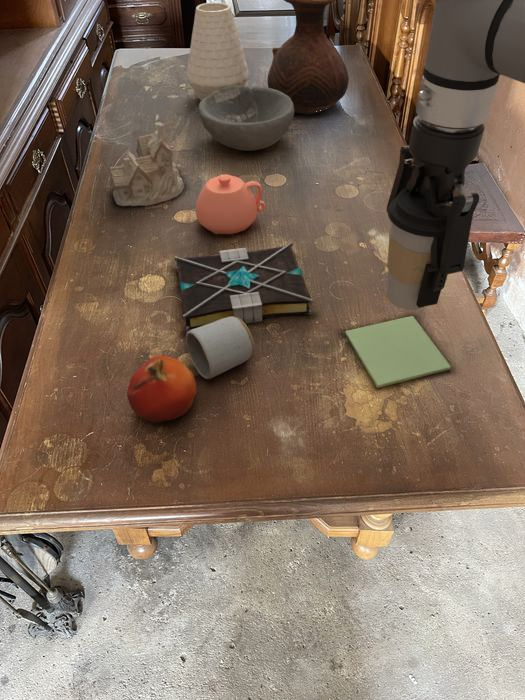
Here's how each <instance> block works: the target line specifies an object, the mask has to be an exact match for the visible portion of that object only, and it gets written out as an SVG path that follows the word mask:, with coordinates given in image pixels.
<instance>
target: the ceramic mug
mask: <svg viewBox="0 0 525 700" xmlns="http://www.w3.org/2000/svg"><path fill="white" fill-rule="evenodd" d="M185 344H186V348H187V352H188V354H189V355H188V356H189V357H190V360H191V362H192V364H193V366H194V368H195V369H196V370H197V372H198V374H199V375H200V376H201V377H202V378H203V379H205V380H210V379H213V378H214V377H217V376H219V375H221V374H223V373H226V372H227V371H229V370H232V369H233V368H235V367H237V366H239V365H242V364H243V363H245V362H247V361H248V360H249V359H251V358H252V356H253V355H254V352H255V343H254V339H253V335H252V333H251V331H250V329H249V327H248V325H247V323H244V322H243V321H242V320H241V319H240V318H238V317H234V316H233V317H227V318H223V319H220V320H218V321H215V322H213V323H210V324H207V325H204V326H201V327H198V328H195V329H192V330H190V331H188V332H186V334H185Z"/></svg>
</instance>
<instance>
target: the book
mask: <svg viewBox="0 0 525 700" xmlns="http://www.w3.org/2000/svg"><path fill="white" fill-rule="evenodd" d="M293 247H294V242H292V241H291V242H289V243H286V245H281V246H276V247H272V248H271V247H270V248H266V249H259V250H252V251H251V250H250V251H248V250H247V247H240V248H233V249H231V248H230V249H223V250H219V254H214V255H205V256H193V257H180V256H177V255H175V256H174V262H176V267H175V272H176V273H177V274H178V275H177V276H178V280H179V286H180V294H181V301H182V307H183V308H182V309H183V315H182V320H183V321H184V322H185V331H186V333H187V332H188V331H190V330H192V329H195V328H198V327H201V326H204V325H207V324H210V323H213V322H215V321H218V320H220V319H223V318H227V317H233V316H234V317H238V318H240V319H241V320H242V321H243V322H244V323H245V324H251V323H257V322H263V318H269V317H276V316H290V315H291V316H292V315H309V316H312V310H311V309H310V306H309V303H310V304H311V305H313V303H314V298H311V295H310V293H309V290H308V287H307V285H306V282H305V279H304V277H303V273H302V266H300V265H299V263H298V260H297V258H296V254H295V251H294V248H293Z"/></svg>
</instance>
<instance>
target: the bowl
mask: <svg viewBox="0 0 525 700" xmlns="http://www.w3.org/2000/svg"><path fill="white" fill-rule="evenodd" d="M197 109H198V110H197V112H198V116H199V120H200V122H201V123H202V125H203V128H204V129H206V131H207V132H208V133H209V134H210V135H211V136H212V138H214V140H216V141H217V142H218V143H220V144H222V145H224V146H226V147H228V148H231V149H234V150H239V151H258V150H262V149H266V148H268V147H271V146H273V145H274V144H276V143H277V142H278V141H280V140H281V139H282V138H283V136H284V135H286V134H287V131H288V130H289V128H290V126H291V124H292V122H293V119H294V115H295V112H294V105H293V102H292V100H291V99H290V97H288V96H287V95H286V94H284V93H282V92H280V91H278V90H275V89H271V88H268V87H262V86H253V87H250V86H246V85H245V86H230V87H227V88H221V89H219V90H217V91H215V92H213V93H212V94H211V95H209V96H208V97H206V98H204V99H203V100H201V101H200V102H199V104H198V108H197Z"/></svg>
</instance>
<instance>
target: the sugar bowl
mask: <svg viewBox="0 0 525 700" xmlns="http://www.w3.org/2000/svg"><path fill="white" fill-rule="evenodd" d="M252 187H256V188H257V194H256V196H255V195H254V194H253V192H252V191H251V190H250V188H252ZM262 195H263V186H262V185H261V184H260V183H259V182H258V181H254V180H251V181H248V182H246V183H245V182H244V181H243V180H242V179H241V178H240V177H237V176H235V175H230V174H226V173H225V174H220V175H217V176H214V177H212V178H210V179H209V180H207V182H206V183H205V185H204V186H203V188H202V190H201V191H200V192H199V195H198V197H197V201H196V205H195V206H196V207H195V216H196V220H197V221H198V223H199V224H200V225H201V226H202V227H204V228H205V229H206V230H207V231H209V232H212V233H213V234H214V235H233V234H237V233H240V232H244V231H246V230H247V229H248V228H249V227H250V226H251V225H253V223H254V222H255V221H256V219H257V217H258V212H263V211H264V210H265V209H266V203H265V201H264V200H262ZM255 197H256V198H255Z"/></svg>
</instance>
